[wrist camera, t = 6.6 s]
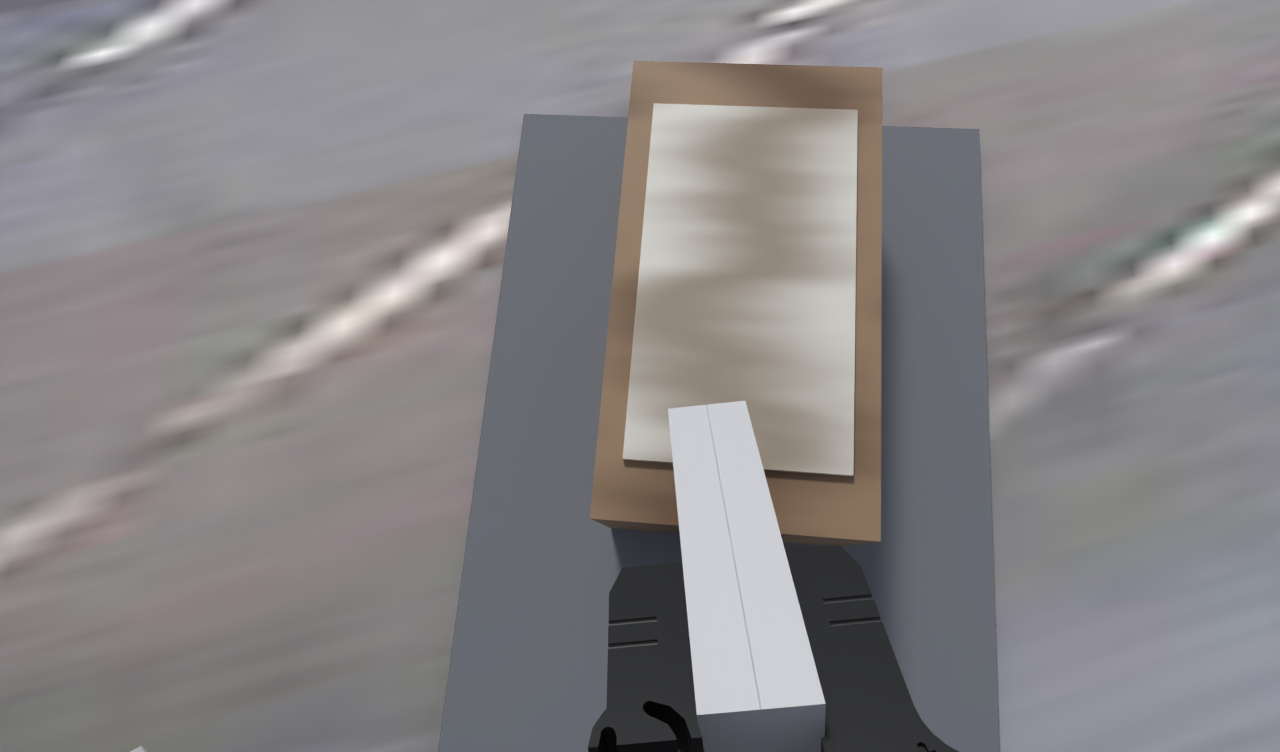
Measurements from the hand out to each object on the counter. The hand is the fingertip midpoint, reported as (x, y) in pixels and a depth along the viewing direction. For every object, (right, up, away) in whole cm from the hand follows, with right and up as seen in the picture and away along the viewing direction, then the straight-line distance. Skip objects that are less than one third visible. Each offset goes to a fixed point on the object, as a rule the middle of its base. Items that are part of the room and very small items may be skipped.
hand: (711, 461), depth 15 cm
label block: (+1, -3, +5) cm, 6 cm away
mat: (+1, -1, +9) cm, 9 cm away
